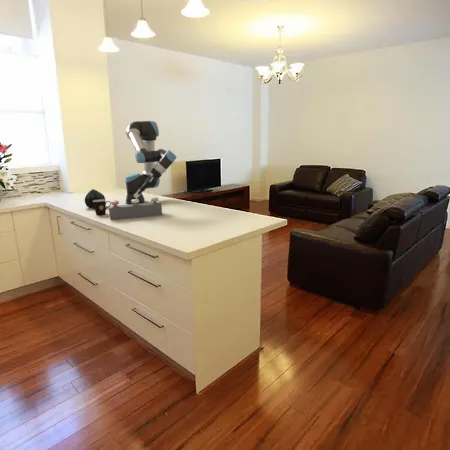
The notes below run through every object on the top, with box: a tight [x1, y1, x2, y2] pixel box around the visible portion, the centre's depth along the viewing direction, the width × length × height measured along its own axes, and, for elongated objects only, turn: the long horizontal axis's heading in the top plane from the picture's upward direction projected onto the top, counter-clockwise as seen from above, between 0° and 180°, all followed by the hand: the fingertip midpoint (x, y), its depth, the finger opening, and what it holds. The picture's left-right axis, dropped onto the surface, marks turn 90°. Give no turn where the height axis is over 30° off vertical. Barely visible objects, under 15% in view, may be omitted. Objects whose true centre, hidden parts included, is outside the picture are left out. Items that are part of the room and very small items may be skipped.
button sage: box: [150, 197, 159, 204], centre depth 232 cm, size 5×5×5 cm
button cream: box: [131, 199, 139, 206], centre depth 229 cm, size 5×5×5 cm
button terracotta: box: [110, 200, 120, 207], centre depth 226 cm, size 5×5×5 cm
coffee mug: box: [93, 199, 112, 216], centre depth 241 cm, size 12×9×10 cm
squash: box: [84, 188, 106, 209], centre depth 264 cm, size 14×15×15 cm
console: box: [108, 201, 163, 221], centre depth 230 cm, size 34×7×8 cm, turn 103°
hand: (135, 197), depth 228 cm, fingers closed
